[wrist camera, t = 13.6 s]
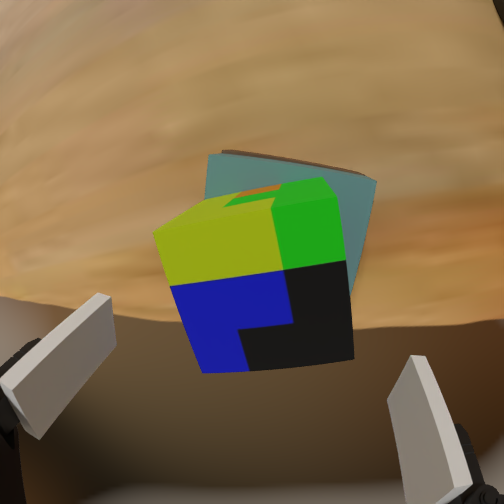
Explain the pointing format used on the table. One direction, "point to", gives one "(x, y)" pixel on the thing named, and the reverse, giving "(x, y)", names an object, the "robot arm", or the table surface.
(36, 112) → the table surface
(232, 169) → the top block
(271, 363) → the puzzle toy
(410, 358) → the robot arm
